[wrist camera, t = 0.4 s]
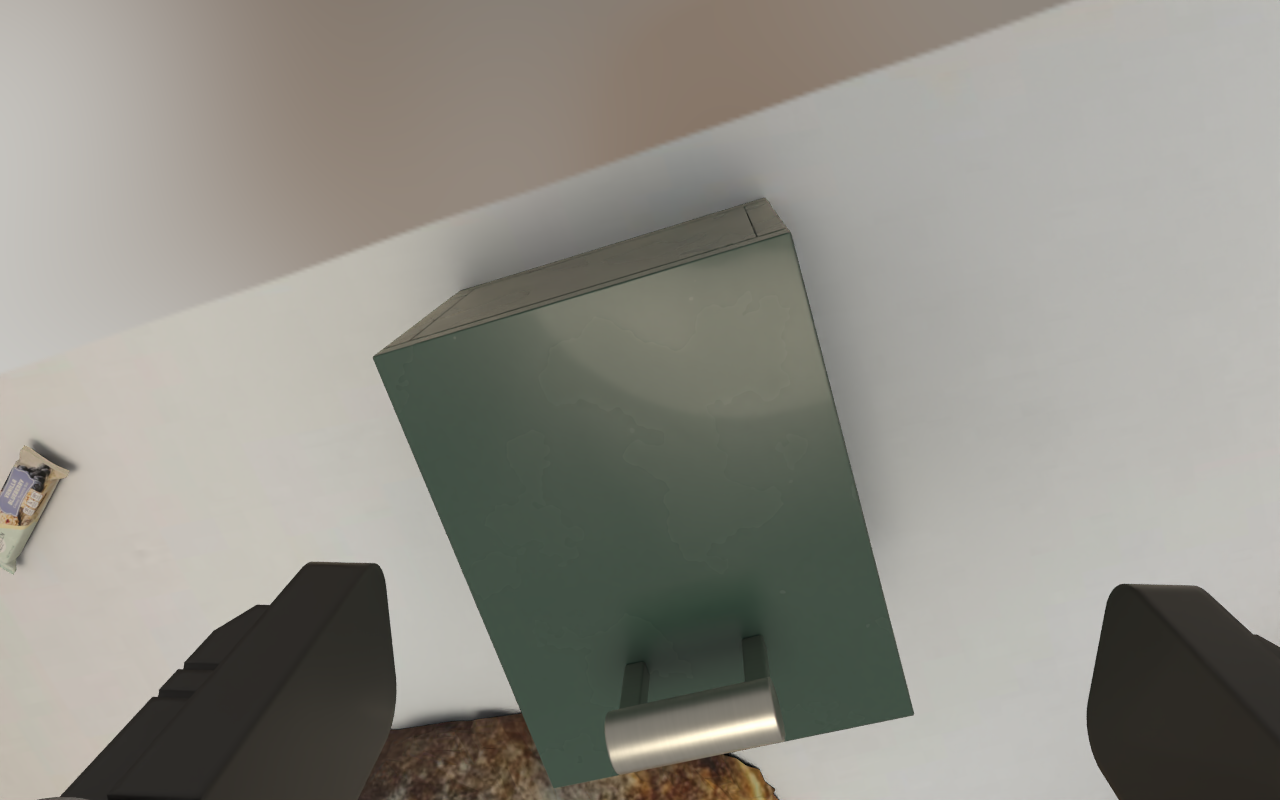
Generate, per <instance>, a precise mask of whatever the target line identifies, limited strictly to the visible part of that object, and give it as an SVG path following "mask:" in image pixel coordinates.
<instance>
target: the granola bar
mask: <svg viewBox="0 0 1280 800" xmlns="http://www.w3.org/2000/svg"><path fill="white" fill-rule="evenodd" d="M69 472H70V471H69V470H66V469H64V468H62V467H59V466H57V465H55V464H53V463H52V462H50V461H48V460H47V459H45V458H44V457H42V456H41V455H40V454H38V453H37V452H35V451H34V450H33V449H31V448H29V447H27V446H25V445H24V447H23V448H22V449H21V450H20V459H19V460H18V461H16V463H15V465H14V466H13V468H12V470H11V472H10V474H9V476H8V478H7V480H6V482H5V484H4V486H3V488H2V490H1V492H0V567H1V568H2V569H4V570H6V571H8V572H9V573H11V574H13V575H14V573H15V572H16V558H17V557H18V556H19V555H20V553H21V552H22V550H23V548H24V546H25V544H26V542H27V541H28V539H29V537H30V535H31V533H32V531H33V529H34V528H35V526H36V524H37V522H38V520H39V518H40V516H41V514H42V512H43V511H44V509H45V507H46V505H47V503H48V501H49V499H50V497H51V495H52V493H53V492H54V490H55V488H56V486H57V484H58V482H59V480H60V479H63V478H66V477H67V476H68V474H69Z"/></svg>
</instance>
